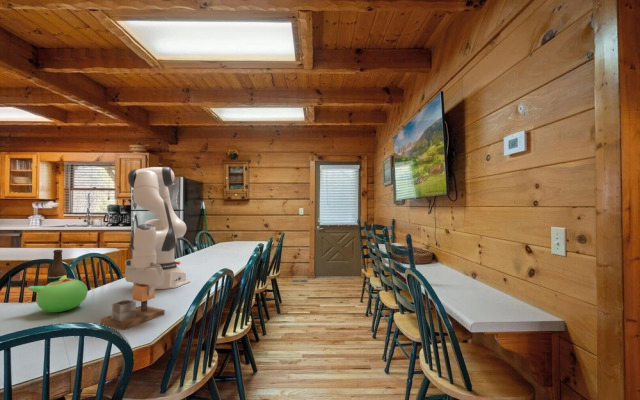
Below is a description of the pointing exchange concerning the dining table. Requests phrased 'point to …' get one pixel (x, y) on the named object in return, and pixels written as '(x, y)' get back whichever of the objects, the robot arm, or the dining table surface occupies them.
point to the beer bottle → (56, 267)
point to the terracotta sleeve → (142, 293)
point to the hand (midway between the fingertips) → (144, 294)
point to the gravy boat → (60, 294)
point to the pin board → (130, 314)
